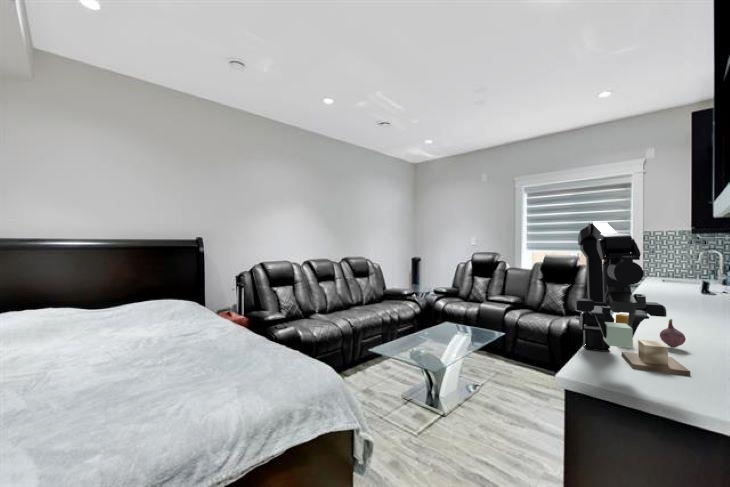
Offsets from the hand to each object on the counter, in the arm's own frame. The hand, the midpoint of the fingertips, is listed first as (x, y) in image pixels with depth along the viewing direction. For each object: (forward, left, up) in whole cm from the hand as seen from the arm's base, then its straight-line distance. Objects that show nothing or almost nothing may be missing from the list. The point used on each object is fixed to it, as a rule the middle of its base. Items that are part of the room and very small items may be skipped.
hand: (617, 338), depth 85 cm
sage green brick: (0, 0, -1) cm, 1 cm away
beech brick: (+11, +14, -9) cm, 20 cm away
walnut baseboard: (+11, +14, -10) cm, 20 cm away
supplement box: (+9, +37, -10) cm, 39 cm away
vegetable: (+22, +36, -10) cm, 43 cm away
